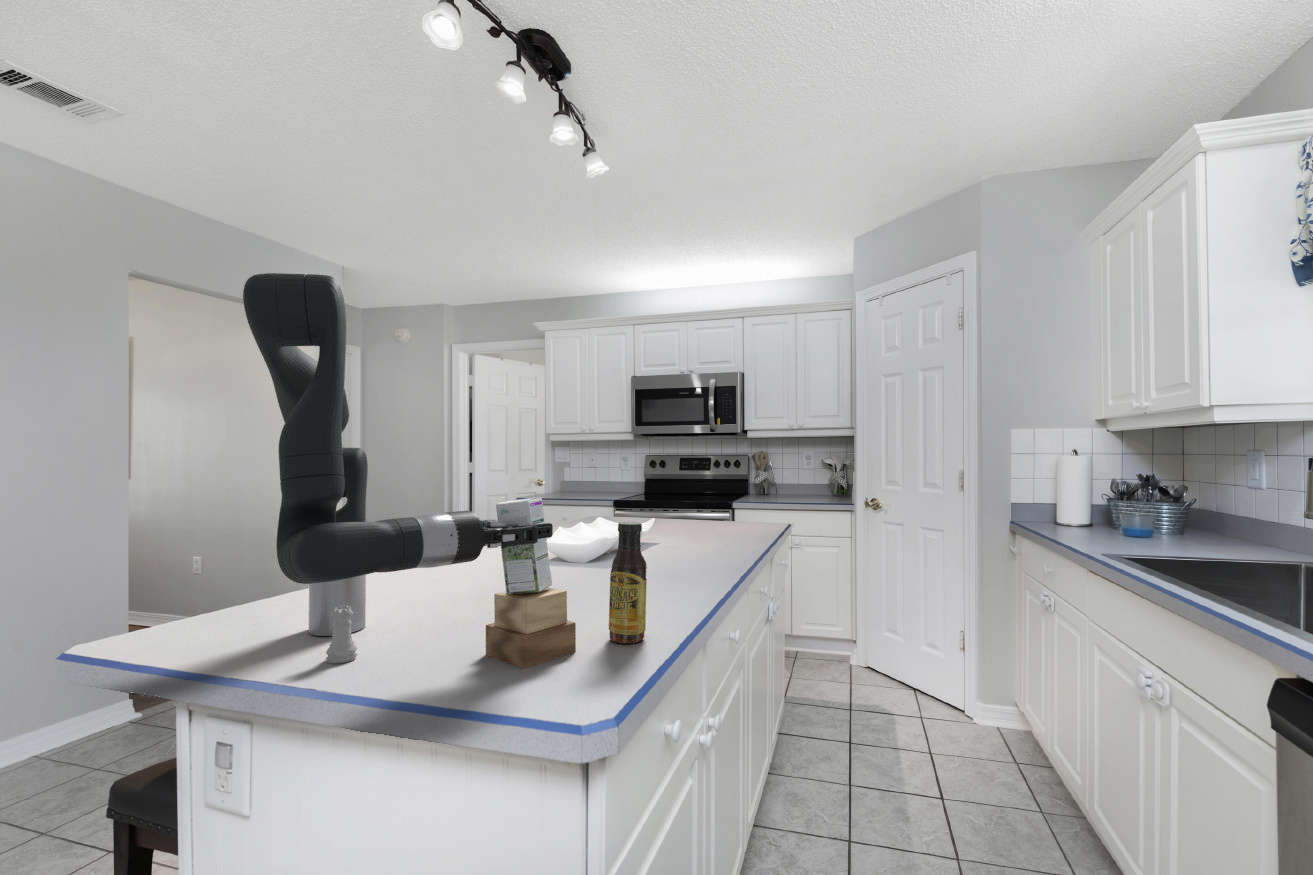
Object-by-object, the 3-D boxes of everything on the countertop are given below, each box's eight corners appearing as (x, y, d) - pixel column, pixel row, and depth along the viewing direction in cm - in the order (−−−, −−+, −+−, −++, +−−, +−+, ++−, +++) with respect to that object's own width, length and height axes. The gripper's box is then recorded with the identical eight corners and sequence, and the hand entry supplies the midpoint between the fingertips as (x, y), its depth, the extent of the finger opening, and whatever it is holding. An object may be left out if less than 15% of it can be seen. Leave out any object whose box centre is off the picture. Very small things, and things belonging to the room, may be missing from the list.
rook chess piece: (325, 666, 92) (325, 612, 92) (325, 657, 96) (326, 606, 96) (358, 661, 94) (358, 609, 94) (357, 653, 98) (357, 603, 98)
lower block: (485, 656, 96) (485, 624, 97) (536, 641, 104) (536, 612, 104) (524, 671, 90) (523, 636, 90) (575, 653, 97) (575, 622, 97)
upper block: (494, 625, 96) (494, 593, 96) (534, 615, 102) (534, 585, 102) (527, 634, 91) (526, 600, 91) (567, 622, 97) (566, 590, 97)
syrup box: (553, 584, 99) (543, 496, 100) (539, 592, 93) (528, 498, 94) (521, 587, 100) (510, 500, 101) (505, 595, 95) (494, 502, 95)
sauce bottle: (602, 643, 102) (601, 523, 102) (618, 632, 107) (617, 519, 108) (638, 647, 99) (637, 525, 100) (653, 636, 105) (651, 521, 105)
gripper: (468, 515, 82) (562, 506, 94) (418, 510, 92) (509, 502, 104) (468, 571, 82) (563, 555, 94) (418, 560, 92) (509, 547, 104)
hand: (534, 527), depth 99 cm, fingers open, 8 cm apart
